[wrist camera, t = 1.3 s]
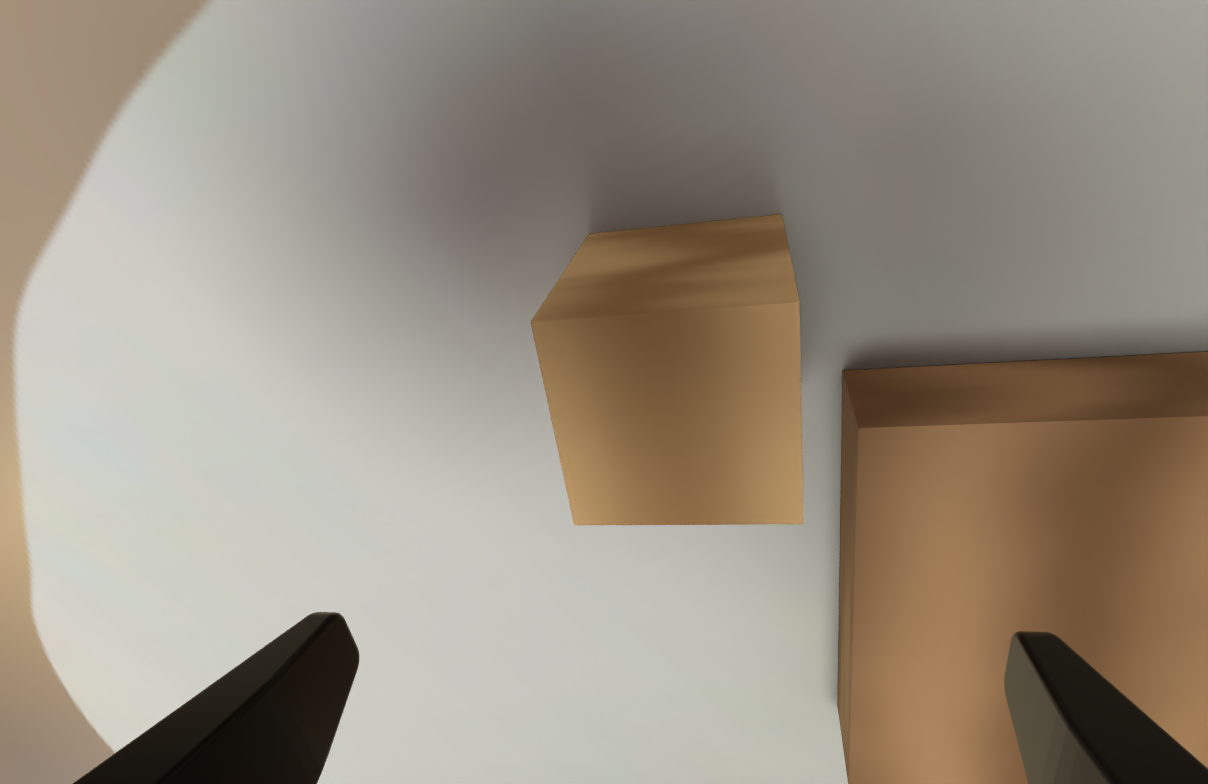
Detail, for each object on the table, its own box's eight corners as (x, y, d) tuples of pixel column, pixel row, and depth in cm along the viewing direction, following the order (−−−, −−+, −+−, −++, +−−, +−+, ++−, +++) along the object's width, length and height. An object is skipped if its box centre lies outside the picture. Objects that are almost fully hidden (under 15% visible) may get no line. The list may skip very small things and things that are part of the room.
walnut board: (1373, 343, 16) (1493, 406, 14) (1216, 725, 23) (1277, 816, 20) (842, 370, 19) (858, 428, 16) (837, 705, 25) (848, 784, 23)
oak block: (781, 213, 17) (799, 301, 12) (786, 387, 20) (803, 524, 14) (589, 233, 18) (530, 322, 13) (615, 395, 21) (573, 525, 16)
